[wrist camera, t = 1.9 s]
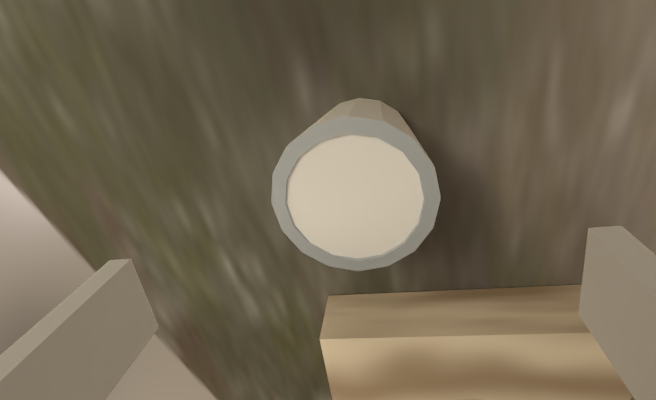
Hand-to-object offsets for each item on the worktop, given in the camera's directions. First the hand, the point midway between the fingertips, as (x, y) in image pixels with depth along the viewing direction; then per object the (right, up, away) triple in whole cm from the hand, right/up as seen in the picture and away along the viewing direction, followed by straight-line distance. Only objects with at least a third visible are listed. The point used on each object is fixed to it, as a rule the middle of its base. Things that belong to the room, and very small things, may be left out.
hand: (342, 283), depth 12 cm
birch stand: (+9, -12, +18) cm, 23 cm away
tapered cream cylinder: (+1, +5, +11) cm, 12 cm away
